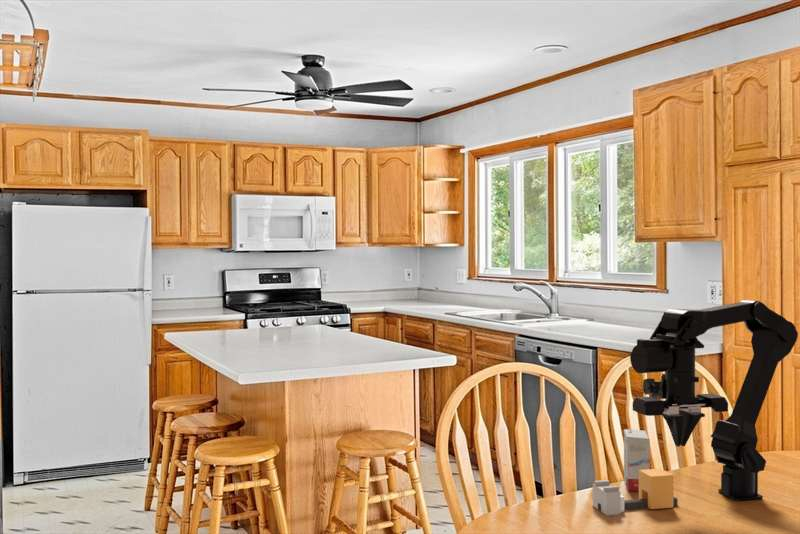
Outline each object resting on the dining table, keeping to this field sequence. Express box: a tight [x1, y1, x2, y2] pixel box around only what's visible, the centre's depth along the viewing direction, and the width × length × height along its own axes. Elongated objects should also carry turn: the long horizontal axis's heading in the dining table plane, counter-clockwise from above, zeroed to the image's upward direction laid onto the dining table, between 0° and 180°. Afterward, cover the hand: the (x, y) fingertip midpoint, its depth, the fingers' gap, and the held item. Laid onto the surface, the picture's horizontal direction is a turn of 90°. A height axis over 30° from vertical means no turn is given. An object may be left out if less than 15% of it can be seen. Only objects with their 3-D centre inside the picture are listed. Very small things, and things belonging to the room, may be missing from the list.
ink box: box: [623, 428, 651, 492], centre depth 170 cm, size 9×5×12 cm, turn 168°
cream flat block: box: [621, 494, 625, 513], centre depth 155 cm, size 1×4×3 cm, turn 12°
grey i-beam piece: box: [592, 479, 622, 517], centre depth 155 cm, size 3×6×5 cm, turn 12°
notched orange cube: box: [638, 468, 674, 510], centre depth 157 cm, size 5×5×7 cm
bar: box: [597, 496, 679, 512], centre depth 156 cm, size 17×1×1 cm, turn 102°
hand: (680, 446), depth 158 cm, fingers closed
